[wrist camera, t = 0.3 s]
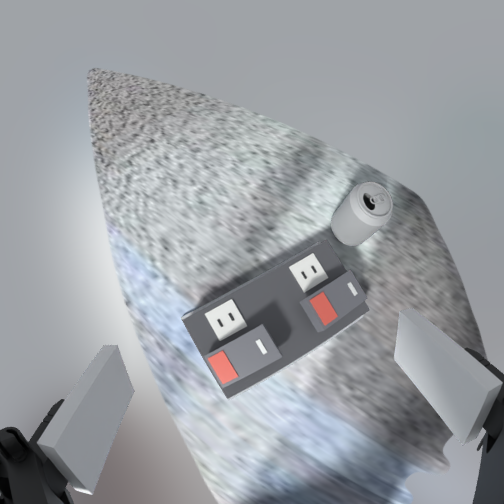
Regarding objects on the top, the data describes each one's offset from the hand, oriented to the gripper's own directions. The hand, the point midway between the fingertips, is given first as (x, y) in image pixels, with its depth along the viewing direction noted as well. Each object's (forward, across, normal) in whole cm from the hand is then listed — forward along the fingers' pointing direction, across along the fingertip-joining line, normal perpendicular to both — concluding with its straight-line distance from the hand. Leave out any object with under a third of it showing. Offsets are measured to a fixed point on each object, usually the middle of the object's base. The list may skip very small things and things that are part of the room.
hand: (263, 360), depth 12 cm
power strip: (+31, -3, +14) cm, 35 cm away
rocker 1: (+23, +2, +15) cm, 28 cm away
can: (+40, -19, +2) cm, 44 cm away
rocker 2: (+27, -11, +10) cm, 31 cm away
